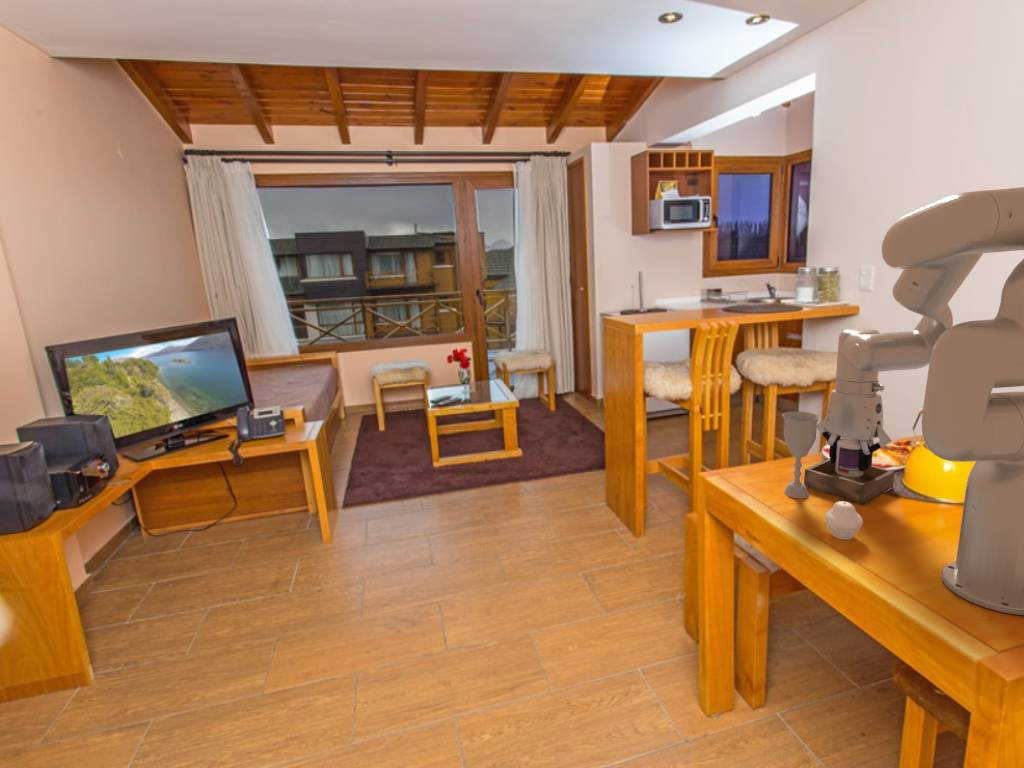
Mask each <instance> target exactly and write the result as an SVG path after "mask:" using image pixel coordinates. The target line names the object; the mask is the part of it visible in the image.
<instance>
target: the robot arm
mask: <svg viewBox="0 0 1024 768" xmlns="http://www.w3.org/2000/svg"><path fill="white" fill-rule="evenodd" d="M1015 251H1024V186H1022V187H1021V186H1020V187H1013V188H1001V189H990V190H977V191H966V192H962V193H961V192H960V193H957V194H953V195H950V196H947V197H945V198H942V199H939V200H938V201H935V202H933V203H931V204H928V205H926V206H924V207H921V208H919V209H916V210H914V211H913V212H910V213H908V214H905V215H903V216H902V217H901V218H899V219H897V220H896V221H895V222H894V223H893V224H892V225H891V226H890V227H889V228H888V230H887V232H886V233H885V235H884V237H883V240H882V245H881V255H882V258H883V260H884V262H885V264H886V265H887V266H889V267H890V268H893V269H896V270H902V271H901V273H900V275H899V277H898V279H896V282H895V283H894V285H893V286H892V287H893V288H892V296H893V298H894V300H895V301H896V302H897V304H899V305H900V306H901V307H903V308H905V309H906V310H908V311H910V312H913V313H916V314H918V315H921V316H922V317H921V319H920V321H919V322H918V324H917V325H916V327H914V329H913V330H909V331H896V332H895V331H894V332H893V331H892V332H883V333H880V331H878V330H877V329H874V328H864V327H860V328H857V327H856V328H847V329H844V330H842V331H841V332H840V333H839V336H838V344H837V345H838V347H837V356H836V358H837V359H836V360H837V361H836V372H835V373H836V374H835V384H834V385H835V386H834V387H835V389H832V391H831V393H830V396H829V399H828V404H827V408H826V412H825V413H826V415H825V418H824V419H823V420H821V421H820V422H819V423H817V429H816V430H818V431H819V433H820V434H822V436H823V438H824V439H825V440H826V441H827V445H828V446H829V453H828V454H829V455H828V457H829V458H830V463H835V462H836V448H837V441H838V440H839V439H841V438H842V437H841V436H846V437H850V438H853V439H856V440H860V442H861V446H862V449H863V453H861V454H860V462H859V470H860V471H865V470H867V469H869V468H870V467H871V465H872V464H873V455H874V454H873V453H874V452H876V451H878V450H880V449H881V448H883V447H886V446H887V445H890V444H891V443H892V439H891V438H890V437H889V435H888V434H887V433H886V431H885V430H884V408H883V407H884V405H883V398H882V394H881V393H878V392H883V391H884V390H885V385H883V384H880V383H879V380H878V378H879V372H882V373H883V372H890V371H891V372H892V371H908V370H909V371H910V370H916V369H921V368H924V367H926V366H928V372H927V376H926V377H927V378H926V386H925V394H924V400H923V407H922V416H921V432H922V438H923V440H924V443H925V446H926V447H927V448H928V449H929V451H930V452H931V453H932V454H933V455H935V456H936V457H937V458H940V459H942V460H944V461H948V462H956V463H959V462H960V463H961V462H962V463H966V462H969V463H970V462H971V463H972V462H974V464H973V465H972V467H971V469H970V472H969V474H968V477H967V481H966V486H965V491H964V500H963V506H962V508H963V509H962V516H961V522H960V530H959V536H958V537H959V538H958V545H957V552H956V559H955V561H953V562H949V563H948V564H945V566H943V567H942V570H941V580H942V582H943V583H944V585H945V586H946V587H947V588H948V589H949V590H950V591H952V592H953V593H954V594H955V595H957V596H959V597H961V598H963V600H964V599H965V600H966V601H968V602H971V603H972V604H975V605H977V606H980V607H983V608H984V609H985V608H986V609H989V610H992V611H996V612H999V613H1004V614H1009V615H1010V614H1011V615H1016V616H1018V615H1019V616H1024V391H1005V392H992V391H993V389H1000V388H1013V387H1015V388H1016V387H1024V258H1022V260H1021V261H1020V262H1019V263H1017V265H1015V268H1013V270H1012V271H1011V272H1010V274H1009V275H1008V277H1007V278H1006V280H1005V283H1004V285H1003V287H1002V290H1001V295H1000V303H999V307H998V311H997V314H996V316H995V317H994V318H993V319H981V320H969V321H964V322H960V323H957V324H955V325H954V319H953V312H952V310H951V308H950V305H949V303H950V301H951V300H952V298H953V297H954V295H956V293H957V291H958V290H959V288H960V287H961V285H962V284H963V282H965V280H966V278H967V277H968V276H969V274H970V273H971V272H972V270H973V269H974V267H975V266H976V264H977V263H978V262H979V260H980V259H981V258H982V256H983V255H984V254H990V253H1002V252H1003V253H1004V252H1015ZM874 438H877V439H879V441H877V442H874V441H875V440H874ZM872 466H873V465H872Z"/></svg>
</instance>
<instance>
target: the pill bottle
mask: <svg viewBox="0 0 1024 768" xmlns="http://www.w3.org/2000/svg"><path fill="white" fill-rule="evenodd" d="M861 453H863V449H862V446H861V442H860V440H856V439H853V438H850V437H846V436H841V439H839V440H838V441H837V448H836V462H835V471H836V472H837V473H838V474H840V475H843V476H847V477H859V476H862V475H863V472H864V471H860V470H859V462H860V454H861Z"/></svg>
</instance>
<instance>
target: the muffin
mask: <svg viewBox="0 0 1024 768" xmlns="http://www.w3.org/2000/svg"><path fill="white" fill-rule="evenodd" d="M824 521H825V524H826V525H827V527H828V529H829V532H830V534H831V535H832V536H833V537H834V538H835V539H839V540H843V541H849V540H852V539H853V538H854V537H855V535H856V534H857V533H858V532H859V531H860V530H861V527H862V525H863V523H864V521H863V517H862V516H861V515H860V514H859V513H858V512H857V511H856V507H855V506H854V505H853V503H850V501H849V502H848V501H843V500H842V501H836V502H834V504H833V506H832V507H831V508H830V509H828V510H827V511H826V512H825V514H824Z"/></svg>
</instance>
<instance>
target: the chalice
mask: <svg viewBox="0 0 1024 768" xmlns="http://www.w3.org/2000/svg"><path fill="white" fill-rule="evenodd" d="M781 416H782V418H783V439H784V441H785V444H786V447H787V449H788V451H789V454H790V455H791V456H793V457H795V462H794V463H793V466H794V468H795V469H794V470H793V472H792V474H793V475H794V479H793V480H792V481H790V482H788V483H787V485H786V486H785V489H784V490H783V493H784V495H785V496H788V497H790V498H793V499H794V498H795V499H807V498H809V497H810V493H809V491H808V489H807V487H806V486H805V485H804V482H802V481H801V480H800V477H801V475H802V474H803V473H802V471H801V468H802V467H803V465H802V462H801V459H802V458H805V457H806V456H807V455H808V454H809V452H810V451H811V450H812V448H813V446H814V444H815V442H816V440H817V430H818V429H817V425H818V422H819V420H820V419H821V417H820V416H819V415H817V414H815V413H812V412H806V411H787V412H783V413H782V414H781Z"/></svg>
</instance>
